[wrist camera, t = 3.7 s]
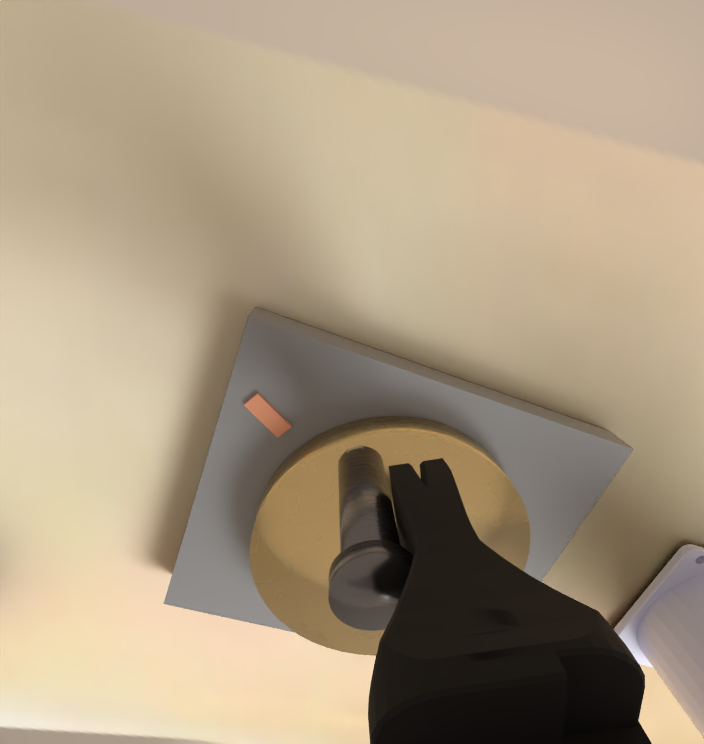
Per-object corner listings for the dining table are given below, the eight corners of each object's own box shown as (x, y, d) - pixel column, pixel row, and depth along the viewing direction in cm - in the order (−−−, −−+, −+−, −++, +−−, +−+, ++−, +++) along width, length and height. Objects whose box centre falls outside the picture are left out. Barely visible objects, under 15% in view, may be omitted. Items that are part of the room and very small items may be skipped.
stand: (609, 431, 18) (636, 451, 16) (468, 643, 22) (478, 675, 21) (256, 307, 15) (247, 317, 14) (175, 576, 20) (162, 606, 18)
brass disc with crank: (529, 590, 19) (629, 778, 13) (304, 646, 20) (292, 852, 13) (492, 379, 15) (610, 497, 9) (213, 457, 16) (132, 622, 9)
